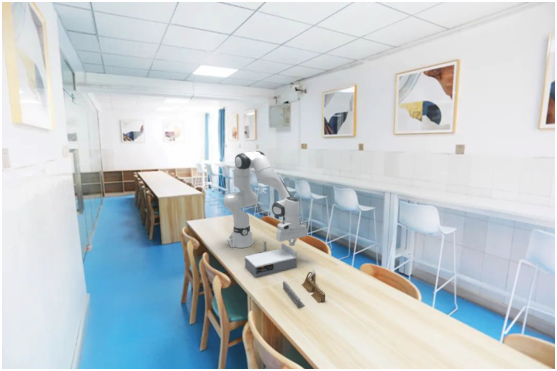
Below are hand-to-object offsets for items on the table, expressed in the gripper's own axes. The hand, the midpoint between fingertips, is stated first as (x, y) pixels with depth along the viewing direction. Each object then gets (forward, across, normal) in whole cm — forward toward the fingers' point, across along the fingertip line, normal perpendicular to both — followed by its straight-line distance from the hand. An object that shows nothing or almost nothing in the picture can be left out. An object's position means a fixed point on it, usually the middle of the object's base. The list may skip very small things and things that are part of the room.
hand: (292, 245), depth 174 cm
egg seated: (+10, +14, +1) cm, 17 cm away
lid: (+5, +15, +1) cm, 16 cm away
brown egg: (+10, +21, +1) cm, 24 cm away
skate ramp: (+11, +9, +36) cm, 38 cm away
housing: (+11, +15, +1) cm, 19 cm away
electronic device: (+12, +14, -19) cm, 26 cm away
